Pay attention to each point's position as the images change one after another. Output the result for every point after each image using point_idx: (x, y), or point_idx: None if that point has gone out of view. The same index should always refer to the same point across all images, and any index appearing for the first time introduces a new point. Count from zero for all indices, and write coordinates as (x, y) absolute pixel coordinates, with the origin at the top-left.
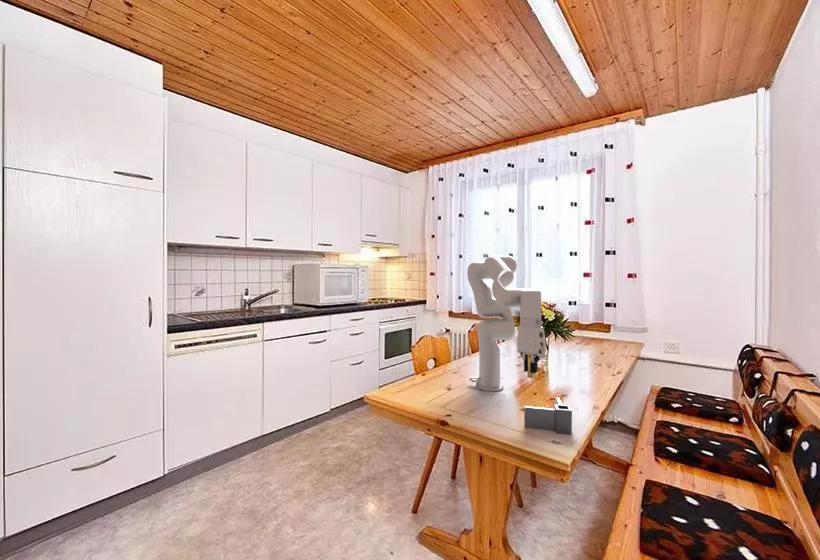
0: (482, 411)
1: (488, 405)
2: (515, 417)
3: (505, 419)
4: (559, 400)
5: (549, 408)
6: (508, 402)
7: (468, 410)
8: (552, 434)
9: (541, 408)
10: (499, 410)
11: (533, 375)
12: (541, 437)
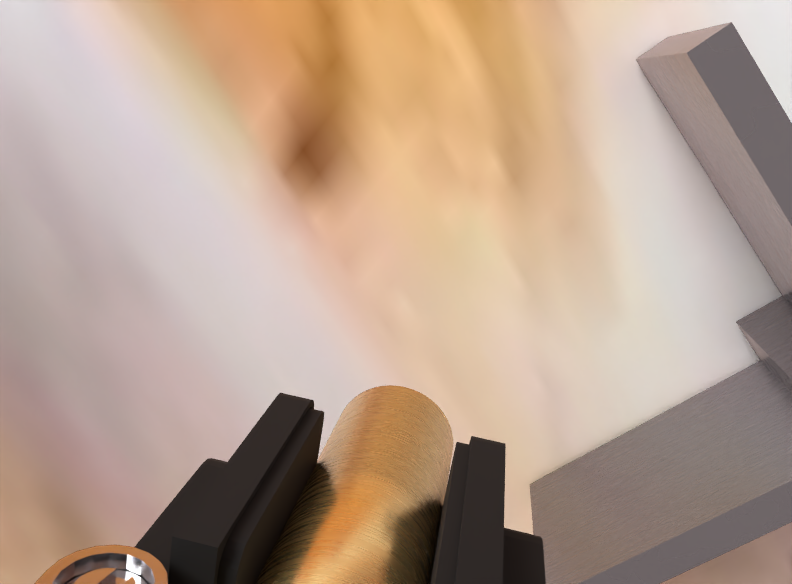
0: (123, 471)
1: (53, 326)
2: (374, 379)
3: None
4: (778, 136)
5: (788, 489)
6: (98, 106)
7: (49, 531)
8: None
9: (715, 548)
10: (189, 350)
11: (448, 456)
12: (731, 557)
